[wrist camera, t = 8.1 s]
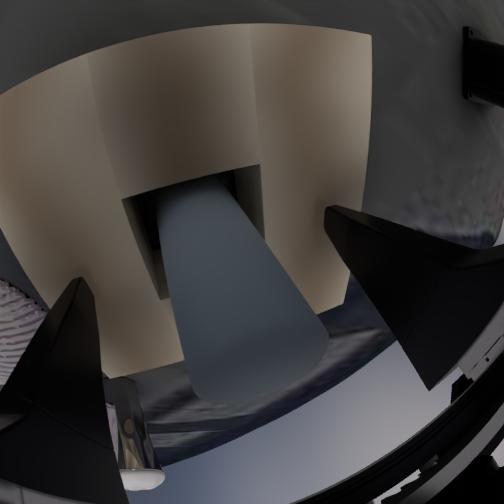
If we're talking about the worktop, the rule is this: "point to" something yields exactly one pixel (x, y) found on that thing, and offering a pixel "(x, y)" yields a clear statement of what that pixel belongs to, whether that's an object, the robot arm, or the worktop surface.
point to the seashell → (15, 326)
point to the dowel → (231, 297)
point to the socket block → (183, 163)
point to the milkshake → (131, 436)
